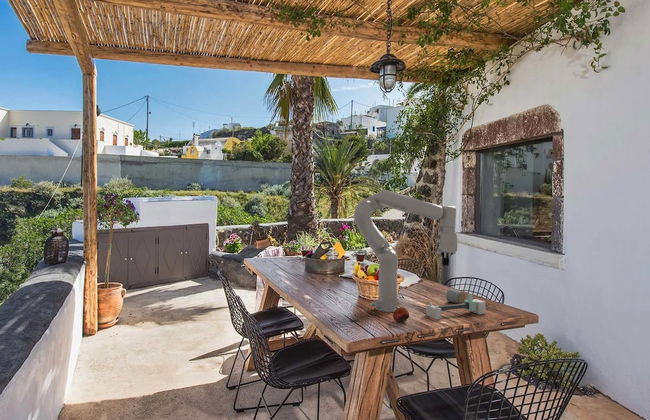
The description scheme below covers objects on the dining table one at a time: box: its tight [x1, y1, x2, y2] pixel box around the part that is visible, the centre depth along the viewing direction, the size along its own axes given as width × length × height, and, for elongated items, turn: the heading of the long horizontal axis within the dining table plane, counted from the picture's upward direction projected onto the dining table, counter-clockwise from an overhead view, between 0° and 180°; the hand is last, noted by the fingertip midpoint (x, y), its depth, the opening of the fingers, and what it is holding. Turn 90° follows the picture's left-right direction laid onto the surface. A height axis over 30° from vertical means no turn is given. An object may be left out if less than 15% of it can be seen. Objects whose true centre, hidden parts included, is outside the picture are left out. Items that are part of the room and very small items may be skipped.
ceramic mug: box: [445, 287, 467, 304], centre depth 219 cm, size 11×8×8 cm
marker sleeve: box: [463, 292, 476, 312], centre depth 198 cm, size 4×4×8 cm
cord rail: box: [425, 298, 486, 320], centre depth 195 cm, size 30×8×6 cm, turn 110°
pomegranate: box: [392, 306, 410, 325], centre depth 181 cm, size 7×7×10 cm
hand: (445, 265), depth 201 cm, fingers closed
